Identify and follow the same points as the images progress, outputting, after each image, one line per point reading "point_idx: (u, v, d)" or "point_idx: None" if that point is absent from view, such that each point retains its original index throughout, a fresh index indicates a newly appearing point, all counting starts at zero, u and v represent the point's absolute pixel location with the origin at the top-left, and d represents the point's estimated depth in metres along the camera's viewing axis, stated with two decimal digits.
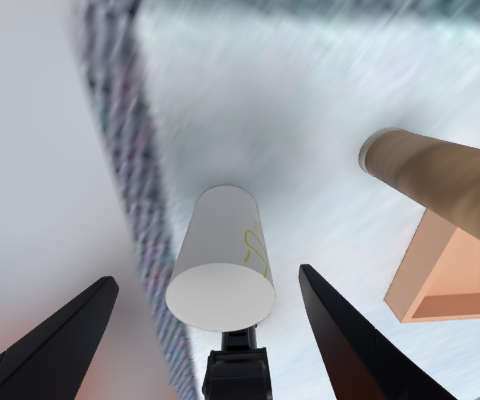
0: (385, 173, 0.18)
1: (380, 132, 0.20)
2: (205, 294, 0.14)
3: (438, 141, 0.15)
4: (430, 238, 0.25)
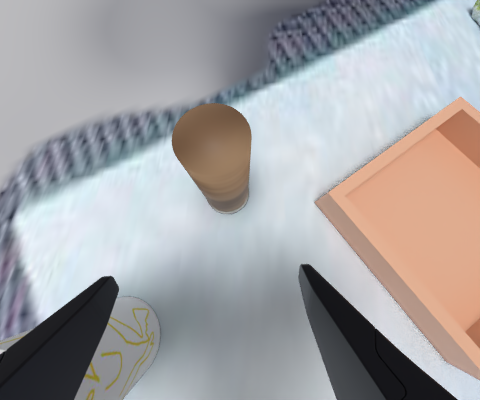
0: (208, 199, 0.20)
1: None
2: None
3: None
4: (346, 228, 0.21)
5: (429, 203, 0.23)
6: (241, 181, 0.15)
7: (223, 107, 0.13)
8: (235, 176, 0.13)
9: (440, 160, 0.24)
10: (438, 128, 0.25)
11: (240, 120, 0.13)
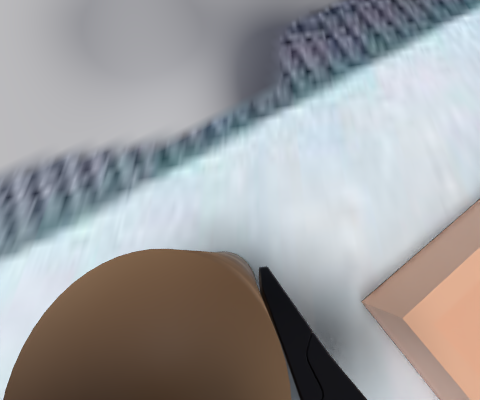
0: None
1: None
2: None
3: None
4: (430, 372, 0.12)
5: None
6: None
7: (192, 266, 0.04)
8: None
9: None
10: None
11: (248, 323, 0.04)
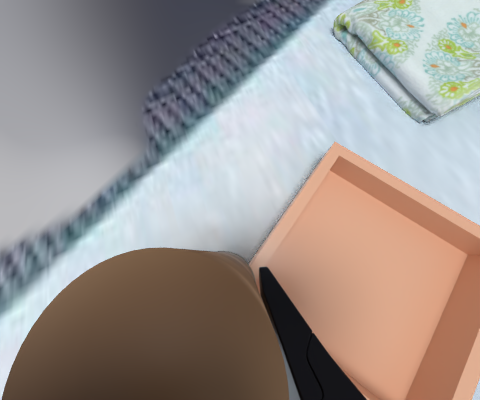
0: None
1: None
2: None
3: None
4: None
5: (341, 255, 0.22)
6: None
7: (191, 264, 0.04)
8: None
9: (341, 203, 0.23)
10: (330, 169, 0.24)
11: (246, 322, 0.04)
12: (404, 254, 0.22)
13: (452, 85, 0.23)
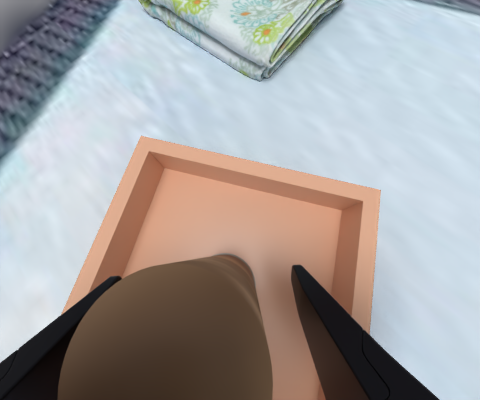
0: None
1: None
2: None
3: None
4: None
5: None
6: None
7: (198, 277, 0.05)
8: None
9: (189, 204, 0.19)
10: (167, 167, 0.19)
11: (241, 322, 0.05)
12: (274, 237, 0.18)
13: (264, 28, 0.20)
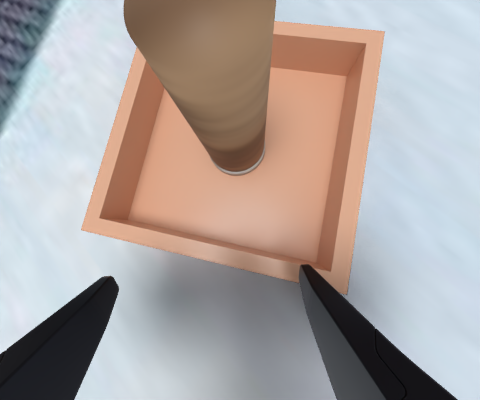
0: (210, 153, 0.14)
1: None
2: None
3: None
4: None
5: None
6: (257, 106, 0.09)
7: None
8: (248, 84, 0.07)
9: None
10: None
11: None
12: (280, 106, 0.19)
13: None
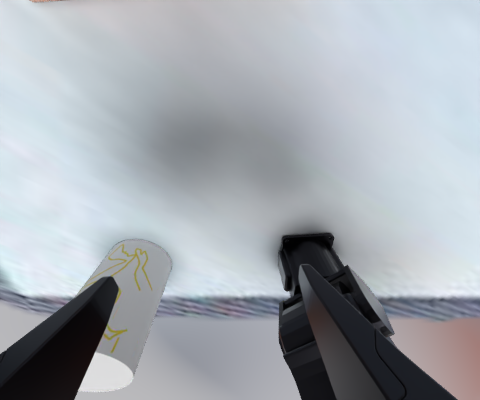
0: None
1: None
2: None
3: None
4: None
5: None
6: None
7: None
8: None
9: None
10: None
11: None
12: None
13: None
